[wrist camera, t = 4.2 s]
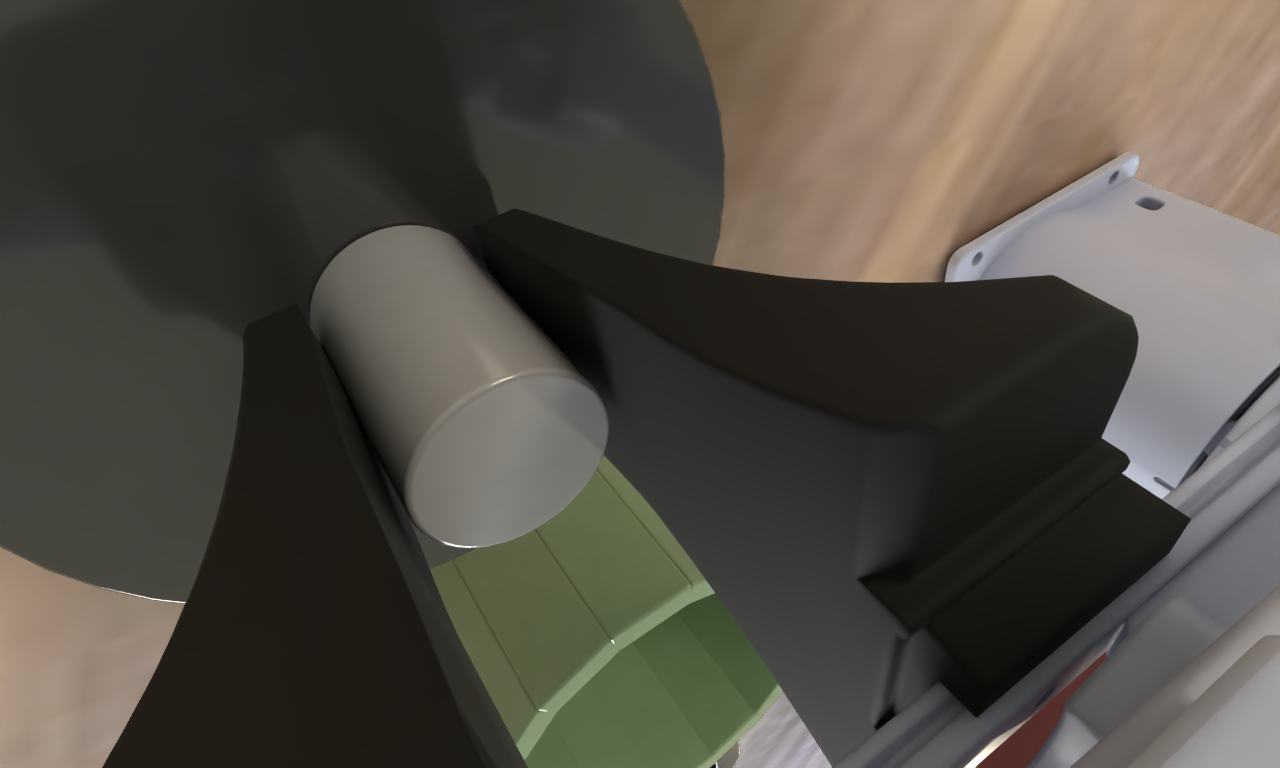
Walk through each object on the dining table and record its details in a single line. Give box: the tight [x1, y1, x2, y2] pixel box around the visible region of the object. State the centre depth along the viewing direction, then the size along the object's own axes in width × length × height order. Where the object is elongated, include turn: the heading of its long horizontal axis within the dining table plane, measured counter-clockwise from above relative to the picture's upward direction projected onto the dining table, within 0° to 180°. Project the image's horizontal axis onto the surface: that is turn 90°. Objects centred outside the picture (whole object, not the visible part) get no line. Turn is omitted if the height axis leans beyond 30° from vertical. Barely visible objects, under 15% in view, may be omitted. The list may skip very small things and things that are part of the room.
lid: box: [0, 0, 725, 604], centre depth 10 cm, size 11×11×5 cm
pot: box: [430, 455, 783, 768], centre depth 21 cm, size 10×10×6 cm
